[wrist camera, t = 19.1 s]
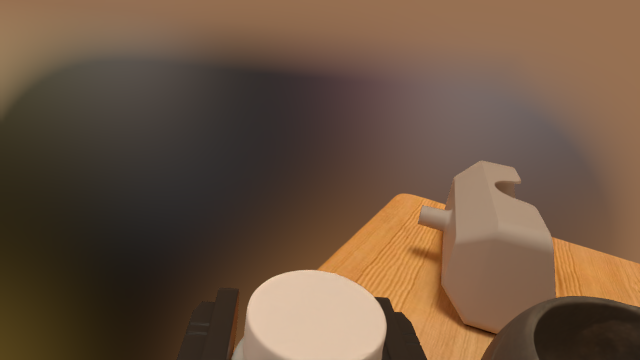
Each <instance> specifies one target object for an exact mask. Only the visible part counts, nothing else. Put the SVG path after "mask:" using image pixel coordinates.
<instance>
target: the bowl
mask: <svg viewBox="0 0 640 360" xmlns="http://www.w3.org/2000/svg"><path fill="white" fill-rule="evenodd" d="M481 360H640V307H637V306H632V305H628V304H624V303H621V302H617V301H614V300H609V299H604V298H596V297H586V296H567V297H559V298H553V299H549V300H546V301H543V302H541V303H538V304H536V305H534V306H532V307H530V308H528V309H527V310H525V311H524V312H522V313H520V314H519V315H518V316H516V317H515V318H514V319H512V320H511V321H510V322H509V323H508V324H506V325H505V326H504V327H503V328H502V329H501V330H500V331H499V333H498V334H497V335H496V336H495V338H494V339H493V340H492V342H491V343H490V345H489V346H488V348H487V349H486V351H485V353H484V355H483V357H482V359H481Z"/></svg>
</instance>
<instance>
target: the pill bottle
mask: <svg viewBox="0 0 640 360" xmlns="http://www.w3.org/2000/svg"><path fill="white" fill-rule="evenodd" d="M386 329H387V324H386V319H385V315H384V312H383V310H382V308H381V306H380V304H379V303H378V301H377V300H376V299H375V298H374V296H373V295H372V294H370V293H369V292H368V291H367V290H366V289H365V288H363V287H362V286H361V285H359V284H357V283H355V282H354V281H352V280H350V279H347V278H345V277H343V276H340V275H337V274H333V273H329V272H324V271H316V270H300V271H293V272H287V273H284V274H281V275H278V276H275V277H273V278H271V279H269V280H267V281H266V282H265V283H263V284H262V285H261V286H260V287H258V289H257V290H256V291H255V292H254V293H253V295H252V297H251V299H250V301H249V304H248V308H247V315H246V323H245V333H244V337H243V339H242V340H241V341H240V342H239V344H238V345H237V347H236V349H235V351H234V353H233V355H232V358H231V360H381V359H382V351H383V346H384V341H385V337H386Z"/></svg>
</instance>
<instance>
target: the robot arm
mask: <svg viewBox="0 0 640 360" xmlns="http://www.w3.org/2000/svg"><path fill="white" fill-rule="evenodd" d="M374 298H375V299H376V300H377V301H378V303H379V304H380V306H381V308H382V310H383V312H384V315H385V319H386V324H387V329H386V337H385V341H384V346H383V351H382V359H381V360H427V358H426V356H425V354H424V351H423V349H422V347H421V345H420V342H419V340H418V337H417V336H416V333H415V330H414V328H413V326H412V324H411V322H410V321H409V320H408V319H407V318H406V317H405V315H404V314H403V313H402V312H394V310H393V308H392V305H391V303H390V300H389V299H388V298H383V297H374ZM238 305H239V289H233V288H219V290H218V294H217V297H216V301H215V302H201V303H200V304H199V305H198V307H197V308H196V309H195V310H194V311H193V312H192V315H191V318H190V321H189V325H188V327H187V330H186V335H185V337H184V340H183V342H182V345H181V349H180V351H179V354H178V357H177V360H231V358H232V355H233V350H234V344H235V338H236V330H237V319H238Z"/></svg>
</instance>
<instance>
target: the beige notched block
mask: <svg viewBox="0 0 640 360" xmlns="http://www.w3.org/2000/svg"><path fill="white" fill-rule="evenodd" d="M519 183H521V179H520V178H519V176H518V174H517V172H516V170H515V169H514V167H509V166H504V165H499V164H495V163H490V162H485V161H480V162H478V163H476V164H475V165H473V166H471V167H470V168H468V169H467V170H465V171H463V172H462V173H460V174H458V175H457V176H455V177H454V179H453V182H452V186H451V189H450V193H449V196H448V200H447V203H446V207H445V210H442V209H438V208H433V207H428V206H424V205H422V209H421V212H420V216H419V221H418V224H420V225H424V226H427V227H430V228H434V229H437V230H440V231H443V251H442V276H441V285H442V287H443V288H444V290H445V292H446V294H447V295H448V297H449V299H450V301H451V302H452V304H453V306H454V308H455V309H456V311H457V313H458V315H459V316H460V318H461V320H462V321H463V323H464V324H467V325H470V326H473V327H476V328H479V329H482V330H486V331H489V332H492V333H495V334H498V333H499V331H500V330H501V329H502V328H503V327H504V326H505V325H506V324H508V323H509V322H510V321H511V320H512V319H514V318H515V317H516V316H518V315H519V314H520V313H522V312H524V311H525V310H527V309H528V308H530V307H532V306H534V305H536V304H538V303H541V302H543V301H546V300H549V299H553V298H556V293H555V268H554V249H553V243H552V238H551V235H550V232H549V230H548V229H547V227H546V225H545V223H544V221H543V220H542V218H541V216H540V214H539V212H538V211H537V209H536V208H535V207H534V206H532V205H530V204H528V203H526V202H523V201H520V200H517V199H515V191H514V184H519Z"/></svg>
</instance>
